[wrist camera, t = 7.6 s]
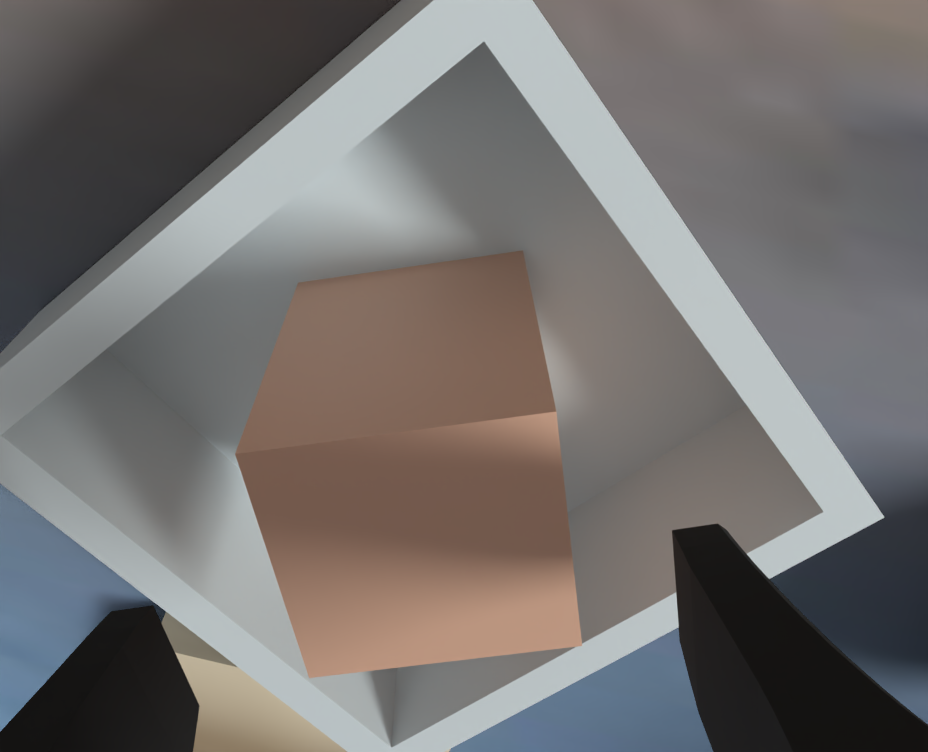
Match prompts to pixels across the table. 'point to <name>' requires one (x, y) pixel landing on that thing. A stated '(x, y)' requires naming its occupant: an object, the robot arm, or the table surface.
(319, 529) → the block
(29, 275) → the table surface
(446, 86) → the bin
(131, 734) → the robot arm
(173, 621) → the base
